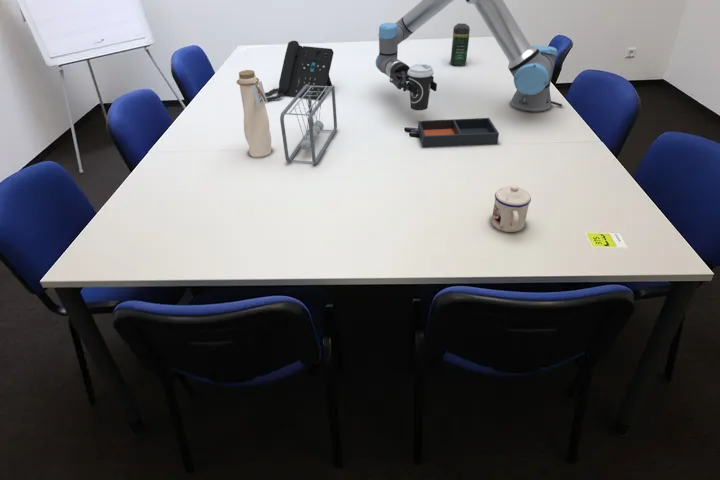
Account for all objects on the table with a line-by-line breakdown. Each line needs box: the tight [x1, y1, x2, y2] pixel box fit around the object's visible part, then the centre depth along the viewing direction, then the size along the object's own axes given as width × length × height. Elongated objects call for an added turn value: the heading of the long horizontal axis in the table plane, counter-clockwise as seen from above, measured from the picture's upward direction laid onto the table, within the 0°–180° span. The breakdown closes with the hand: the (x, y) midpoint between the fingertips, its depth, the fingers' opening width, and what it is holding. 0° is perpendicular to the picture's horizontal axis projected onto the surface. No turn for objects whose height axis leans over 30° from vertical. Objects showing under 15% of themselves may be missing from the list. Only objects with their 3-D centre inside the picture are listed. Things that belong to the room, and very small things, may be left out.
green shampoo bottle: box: [450, 22, 471, 67], centre depth 234 cm, size 10×8×19 cm
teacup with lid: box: [491, 184, 532, 233], centre depth 124 cm, size 12×9×12 cm
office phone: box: [265, 40, 334, 102], centre depth 206 cm, size 29×28×20 cm
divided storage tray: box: [417, 117, 500, 148], centre depth 171 cm, size 26×14×4 cm, turn 92°
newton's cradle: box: [279, 84, 338, 166], centre depth 164 cm, size 30×10×18 cm, turn 168°
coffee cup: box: [407, 63, 435, 112], centre depth 175 cm, size 10×10×15 cm
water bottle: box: [236, 69, 272, 158], centre depth 159 cm, size 10×9×28 cm
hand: (426, 89), depth 171 cm, fingers closed on coffee cup, 7 cm apart
